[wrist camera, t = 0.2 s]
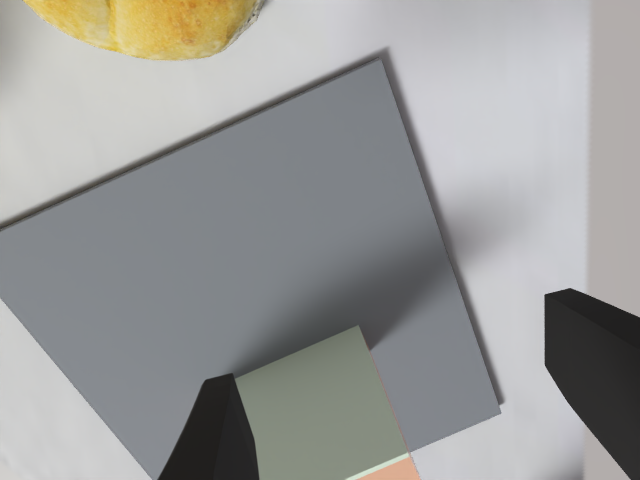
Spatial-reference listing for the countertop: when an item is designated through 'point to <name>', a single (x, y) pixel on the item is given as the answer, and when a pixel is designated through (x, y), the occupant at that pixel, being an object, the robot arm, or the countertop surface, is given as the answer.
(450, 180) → the countertop surface
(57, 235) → the mat
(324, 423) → the tile
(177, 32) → the bread roll
